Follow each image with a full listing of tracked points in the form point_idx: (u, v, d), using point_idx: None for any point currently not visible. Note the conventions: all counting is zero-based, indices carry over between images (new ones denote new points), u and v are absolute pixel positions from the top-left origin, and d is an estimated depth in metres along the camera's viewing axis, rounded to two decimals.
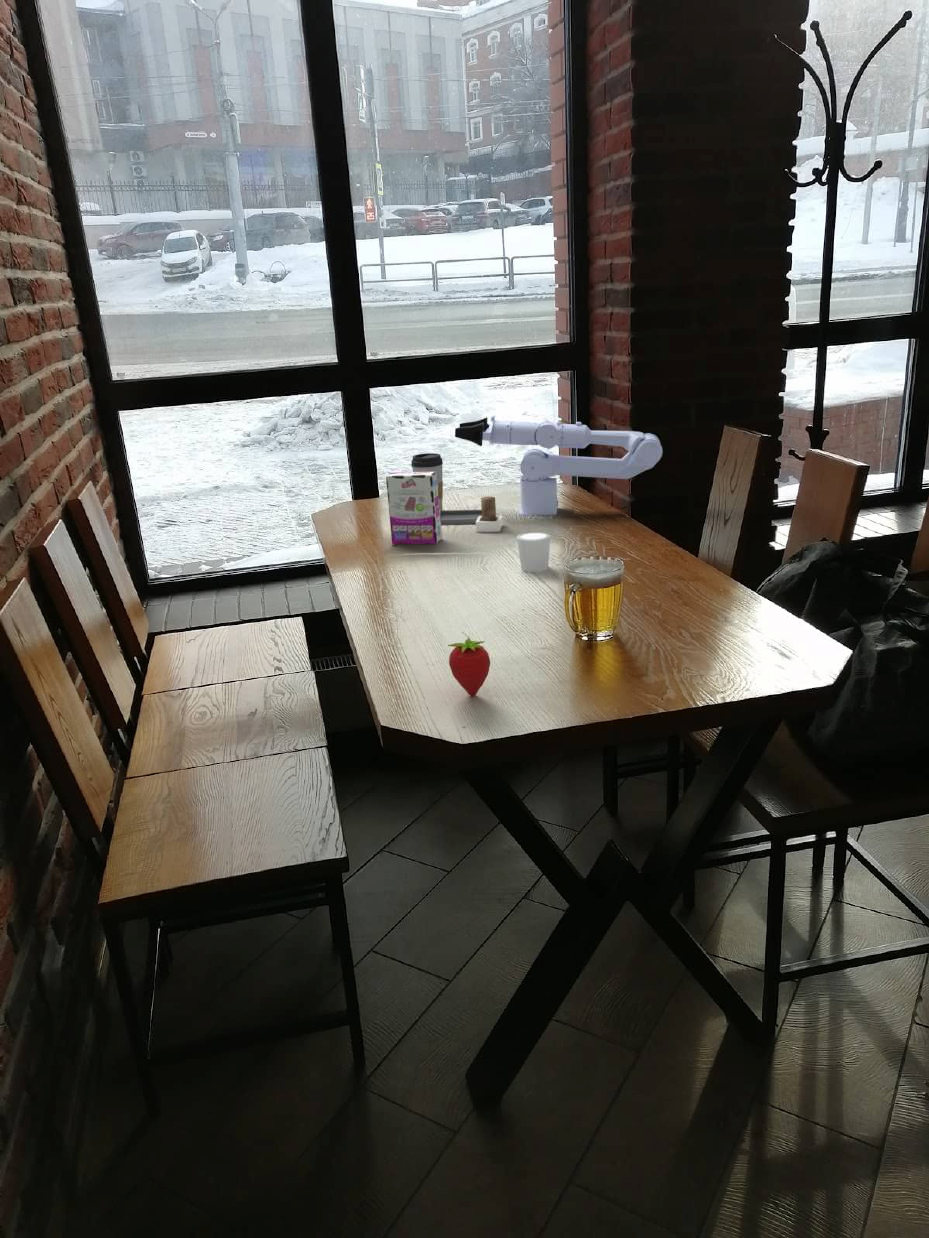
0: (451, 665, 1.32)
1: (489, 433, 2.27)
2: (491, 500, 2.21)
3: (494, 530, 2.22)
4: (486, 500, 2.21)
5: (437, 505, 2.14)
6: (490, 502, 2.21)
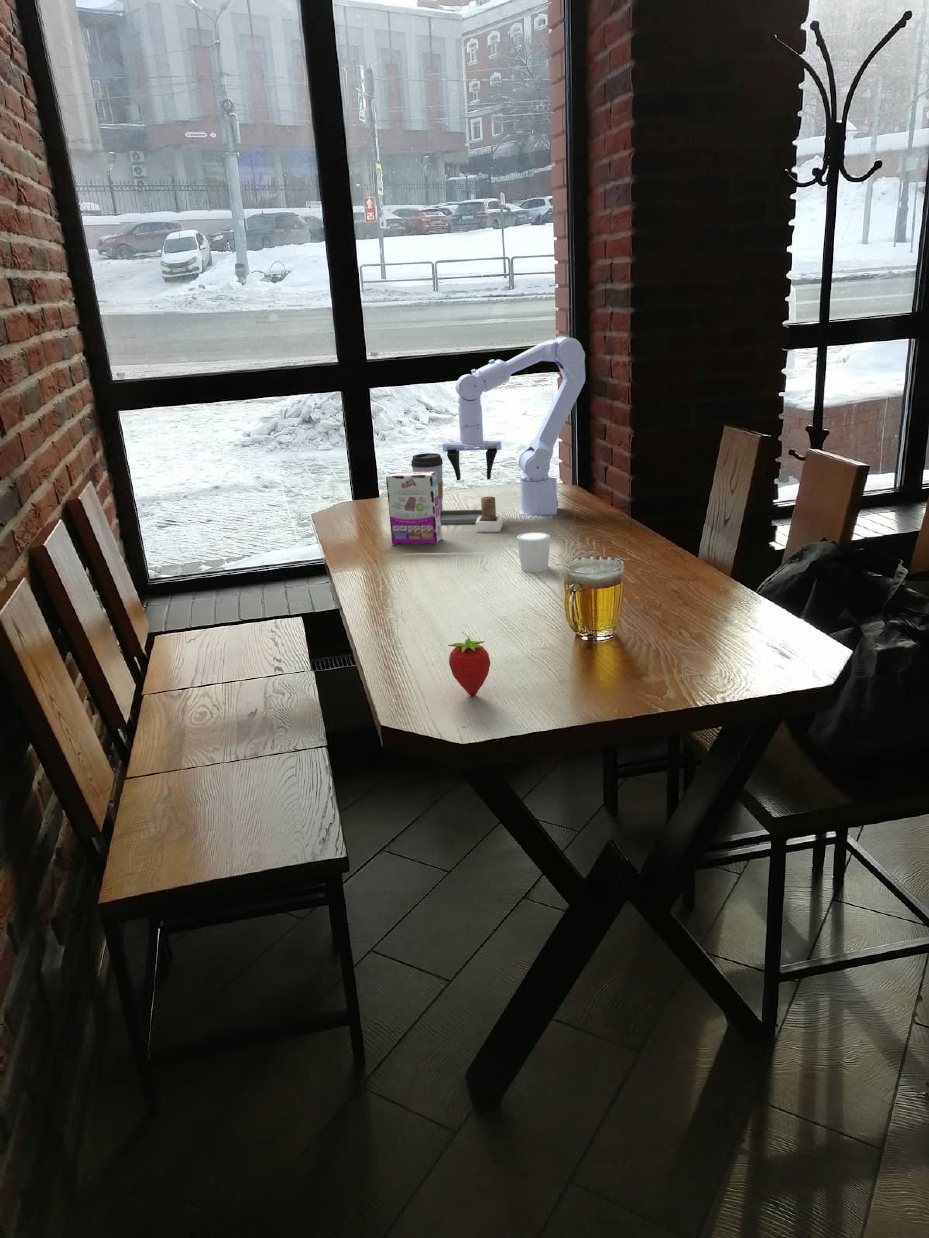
0: (451, 665, 1.32)
1: (500, 443, 2.30)
2: (491, 500, 2.21)
3: (494, 530, 2.22)
4: (486, 500, 2.21)
5: (437, 505, 2.14)
6: (490, 502, 2.21)
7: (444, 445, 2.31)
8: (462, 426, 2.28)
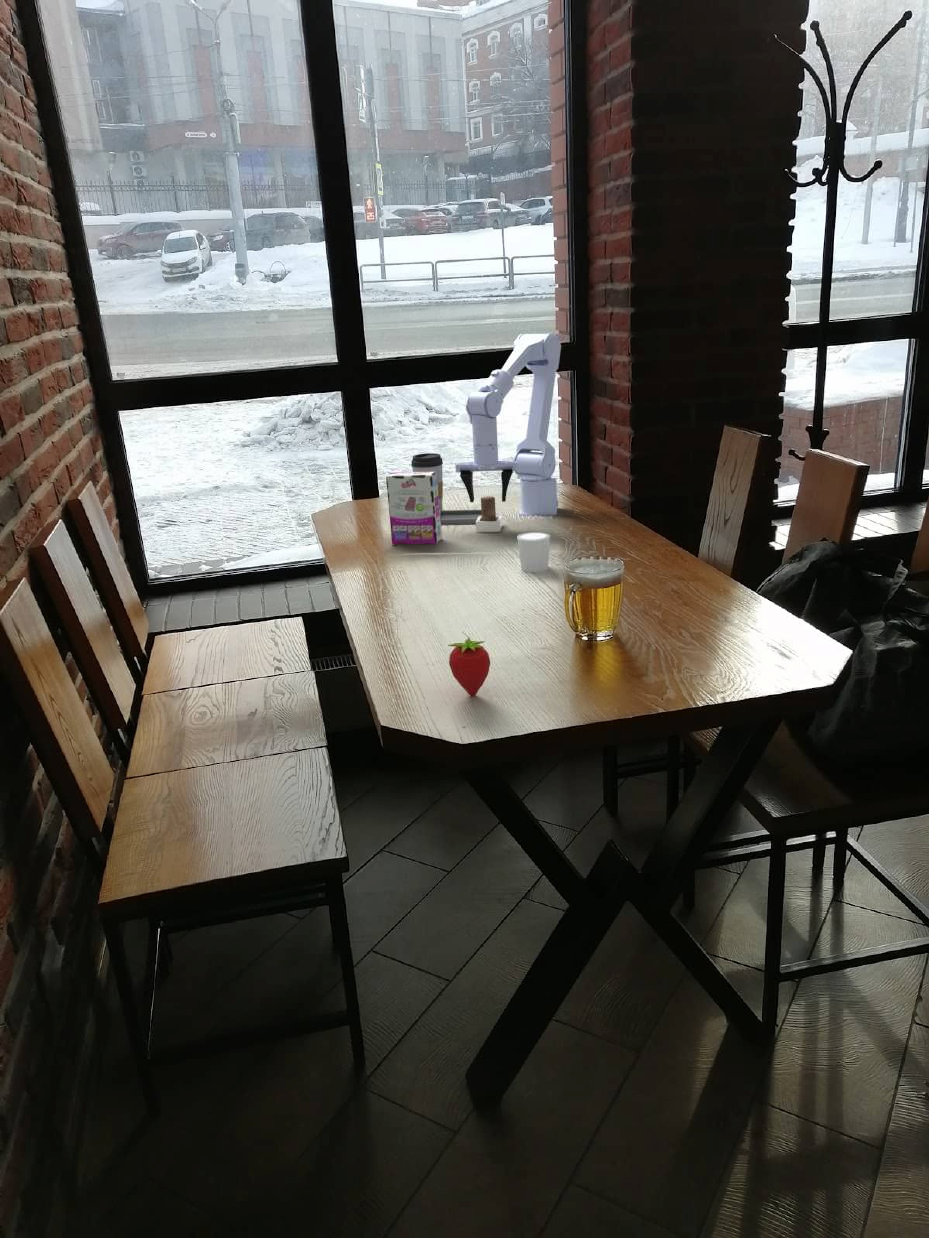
0: (451, 665, 1.32)
1: (516, 463, 2.18)
2: (491, 500, 2.21)
3: (494, 530, 2.22)
4: (486, 500, 2.21)
5: (437, 505, 2.14)
6: (490, 502, 2.21)
7: (457, 465, 2.20)
8: (476, 446, 2.16)
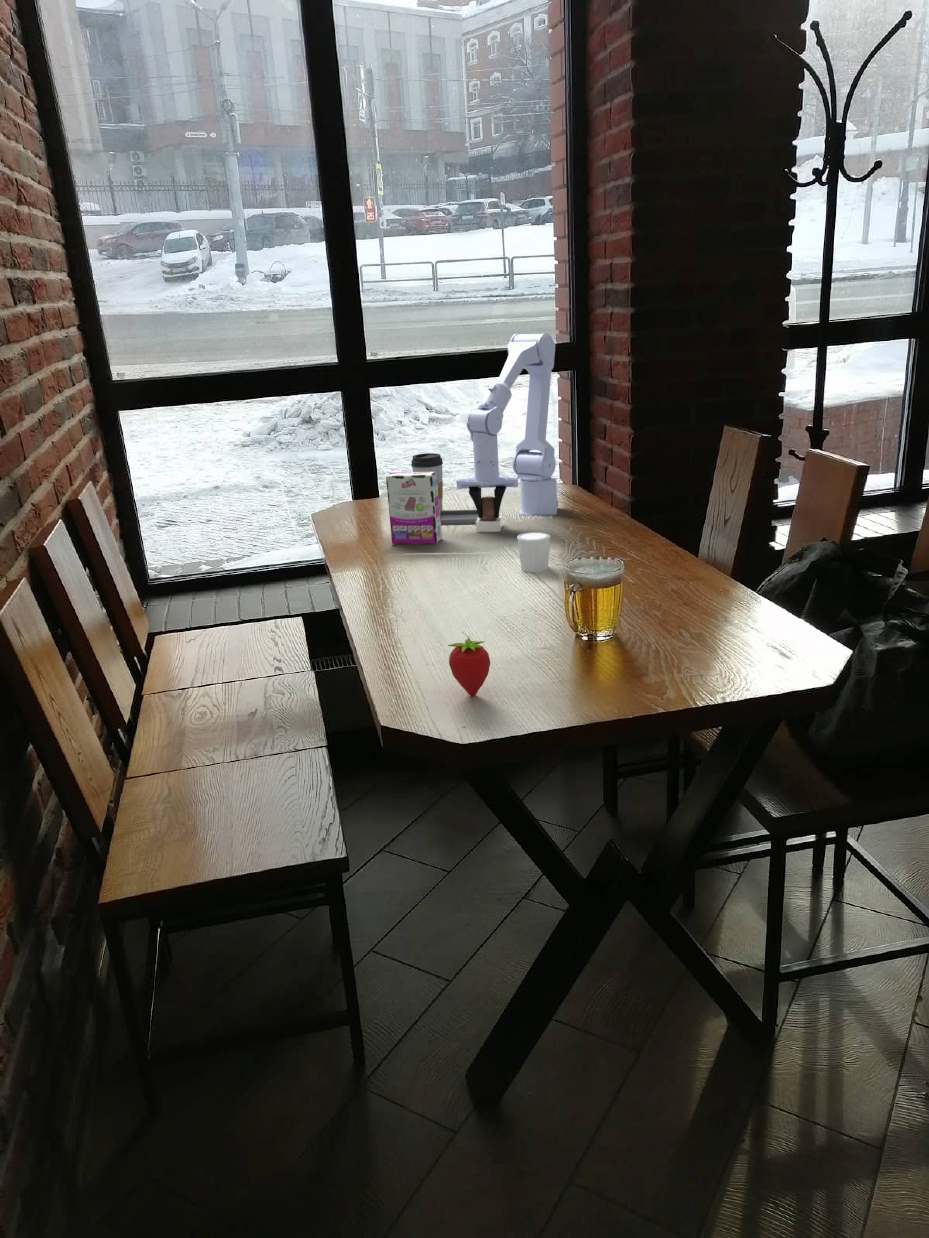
0: (451, 665, 1.32)
1: (517, 480, 2.19)
2: (491, 500, 2.21)
3: (494, 530, 2.22)
4: (486, 500, 2.21)
5: (437, 505, 2.14)
6: (490, 502, 2.21)
7: (458, 482, 2.21)
8: (477, 463, 2.17)
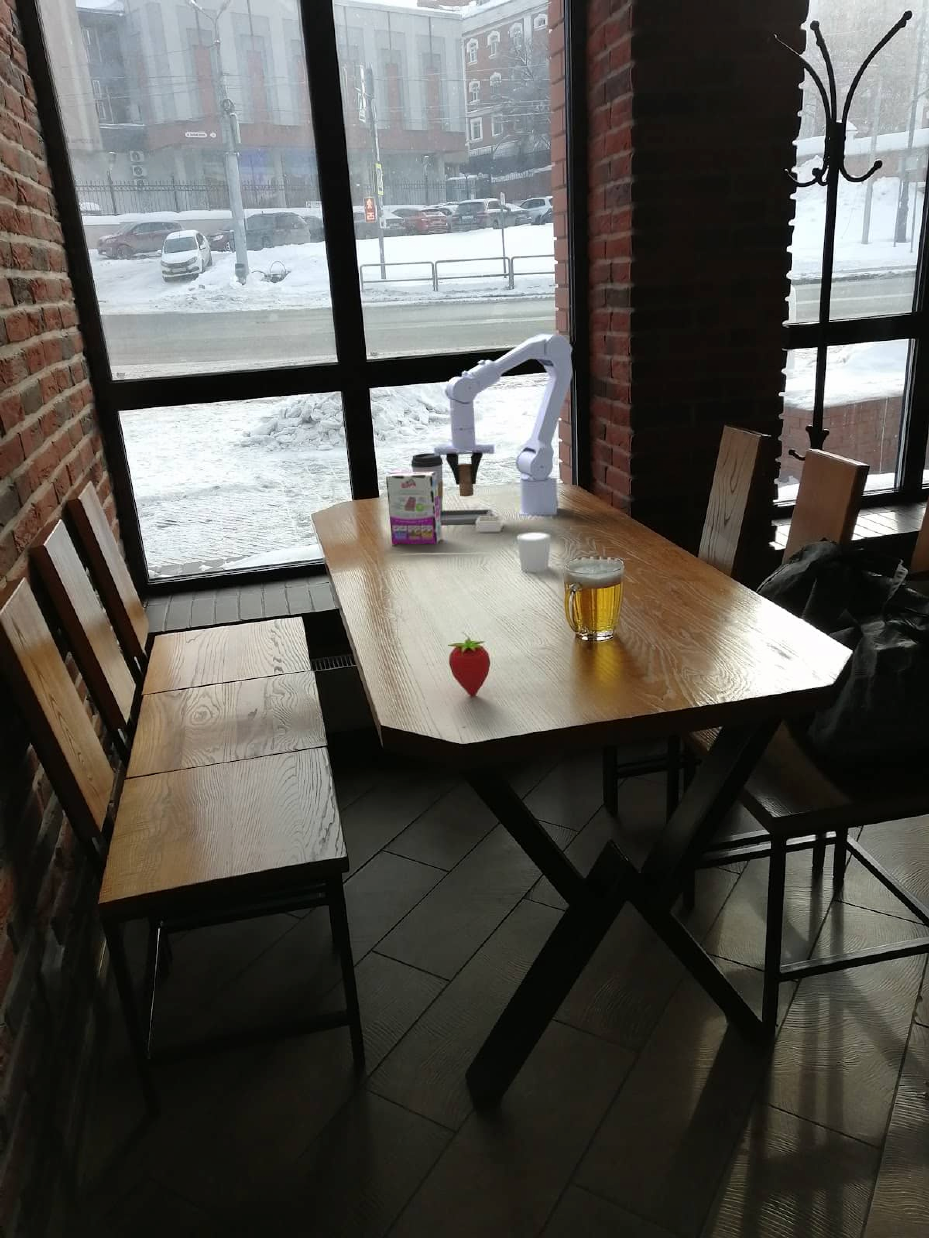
0: (451, 665, 1.32)
1: (493, 447, 2.25)
2: (468, 466, 2.27)
3: (494, 530, 2.22)
4: (463, 466, 2.27)
5: (437, 505, 2.14)
6: (467, 468, 2.27)
7: (436, 449, 2.27)
8: (454, 429, 2.23)
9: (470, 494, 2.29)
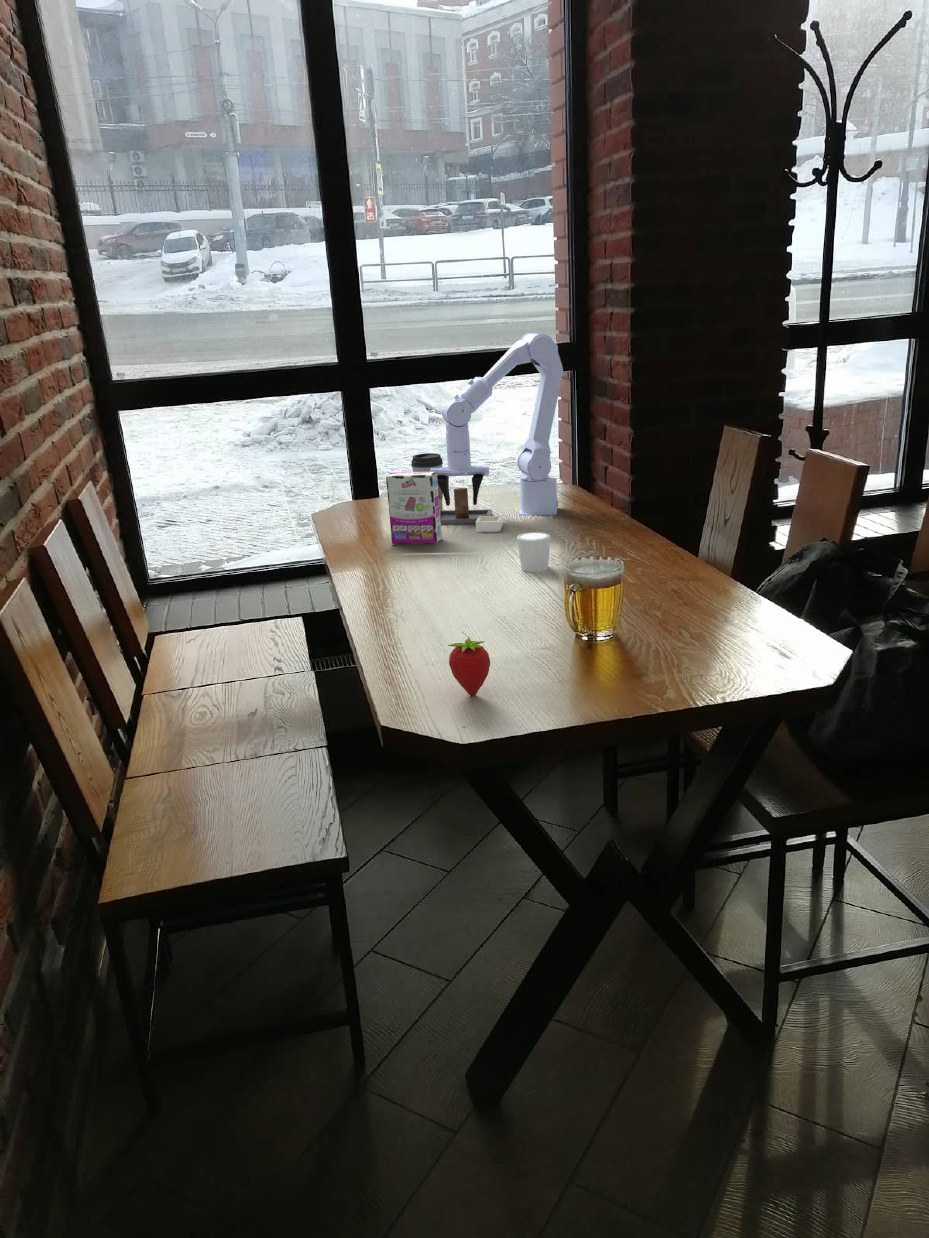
0: (451, 665, 1.32)
1: (488, 469, 2.29)
2: (464, 491, 2.31)
3: (494, 530, 2.22)
4: (459, 491, 2.31)
5: (437, 505, 2.14)
6: (463, 493, 2.31)
7: (432, 471, 2.31)
8: (449, 452, 2.28)
9: (465, 518, 2.34)
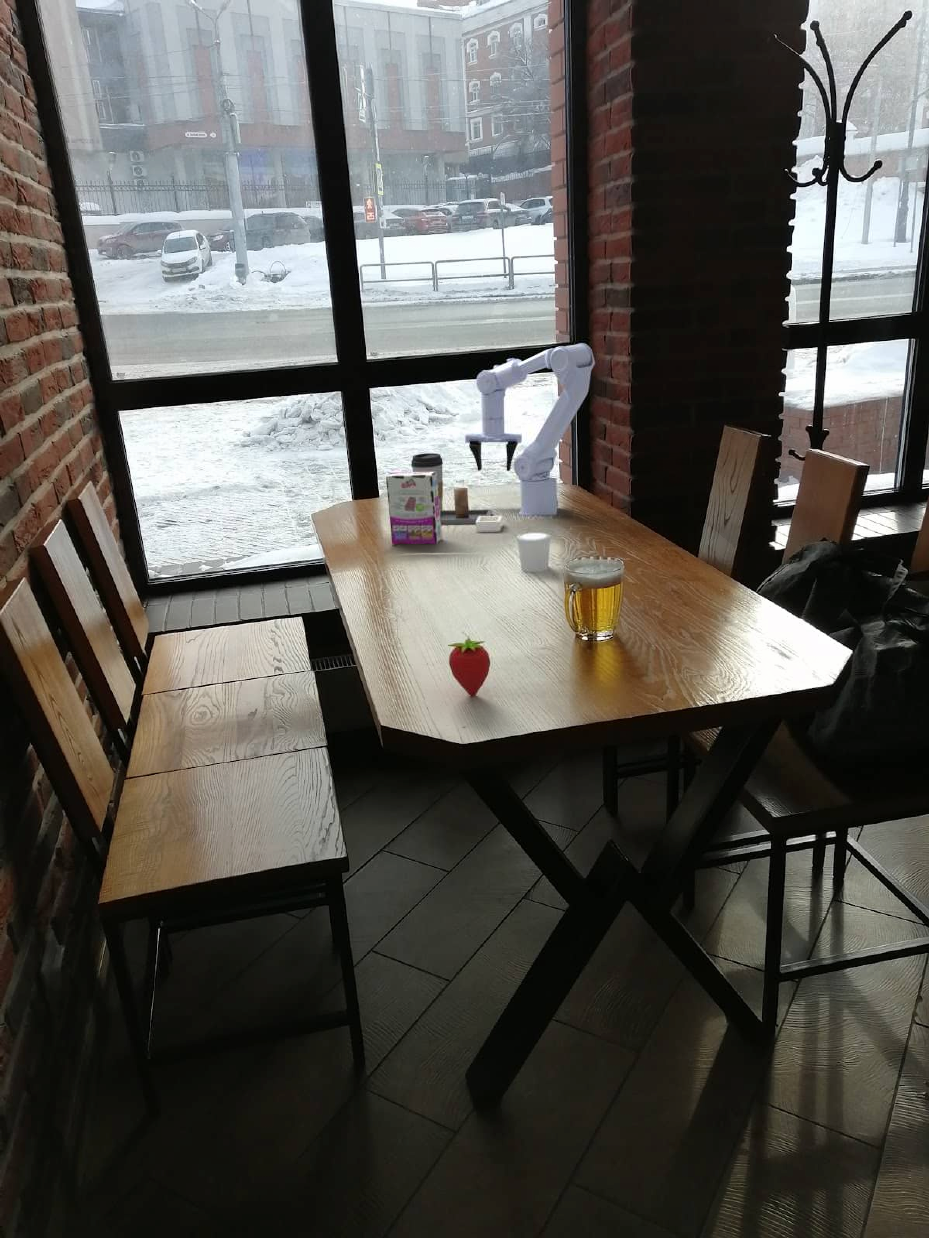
0: (451, 665, 1.32)
1: (520, 436, 2.39)
2: (464, 491, 2.31)
3: (494, 530, 2.22)
4: (459, 491, 2.31)
5: (437, 505, 2.14)
6: (463, 493, 2.31)
7: (467, 436, 2.41)
8: (484, 419, 2.38)
9: None
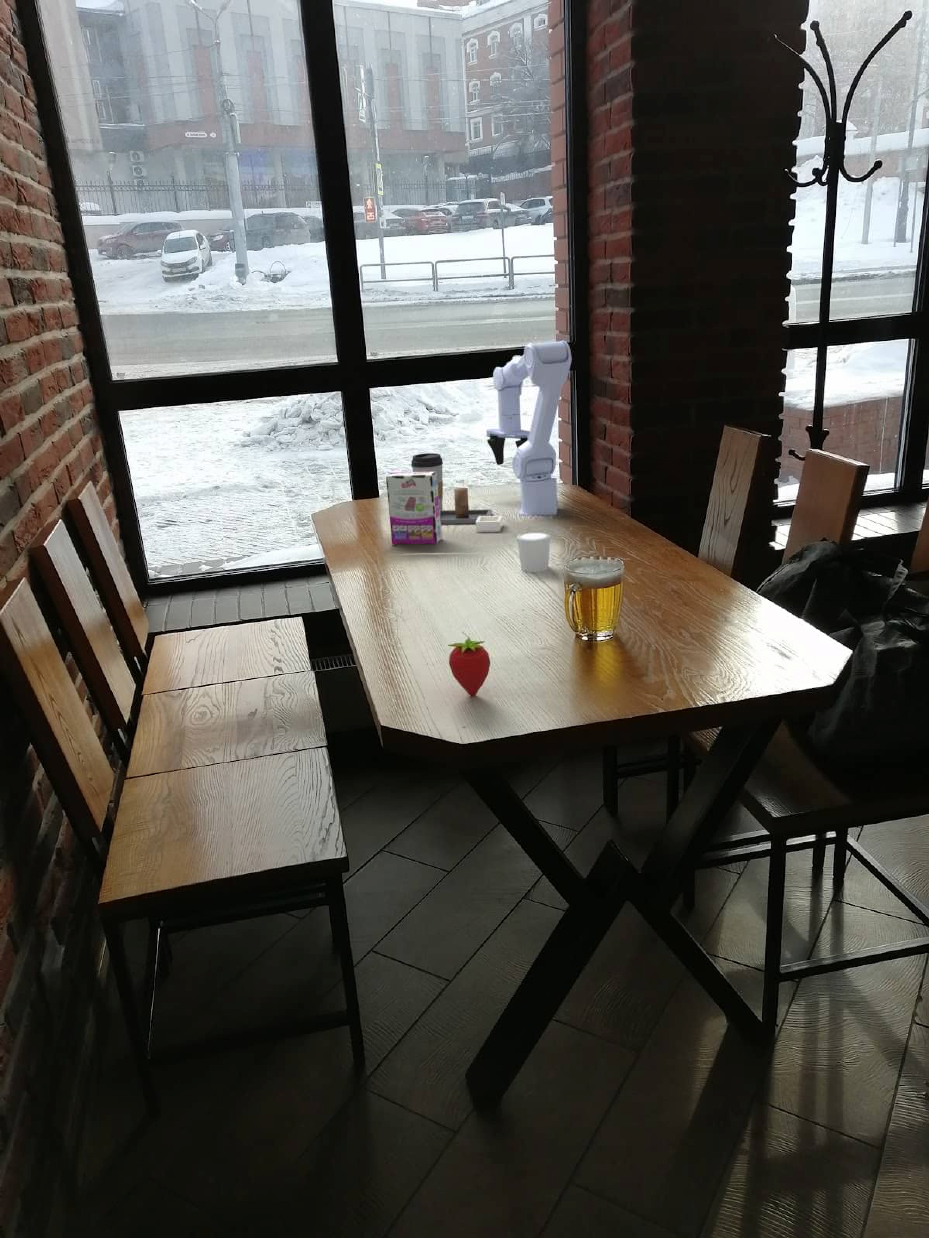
0: (451, 665, 1.32)
1: None
2: (464, 491, 2.31)
3: (494, 530, 2.22)
4: (459, 491, 2.31)
5: (437, 505, 2.14)
6: (463, 493, 2.31)
7: (487, 431, 2.49)
8: None
9: None
